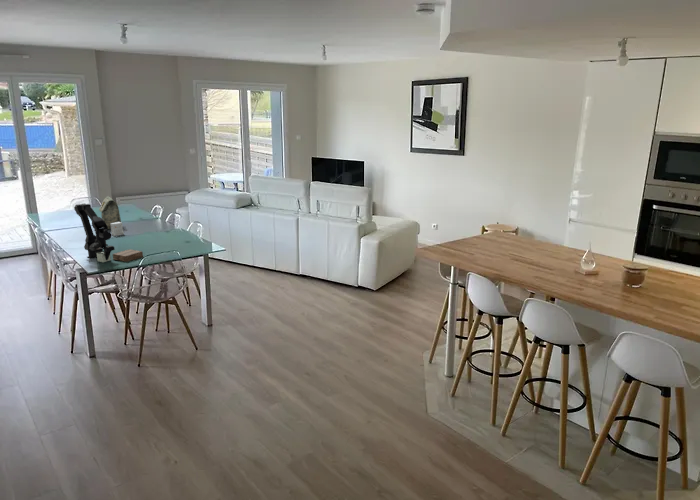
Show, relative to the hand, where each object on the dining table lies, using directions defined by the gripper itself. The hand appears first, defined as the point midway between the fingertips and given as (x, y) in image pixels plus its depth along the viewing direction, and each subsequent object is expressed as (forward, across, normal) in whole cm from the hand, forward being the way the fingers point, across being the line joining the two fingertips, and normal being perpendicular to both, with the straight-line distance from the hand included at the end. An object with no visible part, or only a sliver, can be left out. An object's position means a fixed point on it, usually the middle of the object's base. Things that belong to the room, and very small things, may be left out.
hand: (104, 259), depth 358 cm
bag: (+1, -94, +77) cm, 122 cm away
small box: (+1, -61, +58) cm, 84 cm away
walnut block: (+1, +10, +12) cm, 16 cm away
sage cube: (+1, 0, 0) cm, 1 cm away
